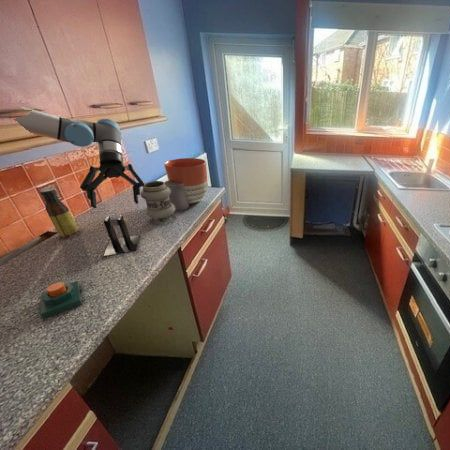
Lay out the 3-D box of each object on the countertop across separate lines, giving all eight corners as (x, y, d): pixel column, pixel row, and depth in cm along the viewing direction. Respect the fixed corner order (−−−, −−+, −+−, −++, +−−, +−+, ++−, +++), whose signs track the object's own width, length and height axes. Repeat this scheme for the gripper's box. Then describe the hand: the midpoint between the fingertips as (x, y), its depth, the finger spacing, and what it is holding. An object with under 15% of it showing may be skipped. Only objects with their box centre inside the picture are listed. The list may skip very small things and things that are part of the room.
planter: (196, 211, 125) (189, 169, 115) (164, 205, 130) (154, 164, 120) (217, 197, 142) (213, 160, 132) (188, 193, 146) (182, 156, 136)
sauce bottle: (83, 231, 105) (63, 186, 95) (76, 238, 100) (55, 191, 90) (64, 232, 103) (42, 187, 93) (56, 240, 98) (32, 193, 88)
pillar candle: (172, 204, 132) (166, 176, 125) (191, 203, 133) (187, 176, 126) (166, 212, 123) (160, 183, 116) (187, 211, 125) (182, 182, 118)
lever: (120, 227, 101) (118, 218, 101) (130, 225, 102) (128, 217, 102) (108, 228, 88) (106, 218, 88) (120, 226, 89) (118, 216, 89)
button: (49, 291, 69) (46, 285, 68) (66, 286, 71) (63, 280, 70) (49, 299, 67) (46, 293, 66) (67, 293, 69) (63, 287, 68)
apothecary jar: (142, 224, 112) (131, 186, 103) (162, 213, 122) (153, 178, 113) (164, 228, 109) (155, 190, 100) (183, 217, 119) (175, 181, 111)
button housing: (44, 298, 72) (38, 287, 70) (80, 286, 76) (75, 276, 74) (44, 320, 65) (37, 309, 63) (82, 305, 70) (77, 294, 68)
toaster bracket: (111, 242, 98) (100, 213, 92) (140, 238, 102) (131, 209, 96) (104, 259, 88) (91, 228, 82) (137, 253, 92) (127, 223, 86)
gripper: (148, 159, 107) (154, 204, 102) (76, 162, 98) (79, 212, 93) (144, 149, 101) (150, 196, 96) (66, 151, 91) (69, 204, 86)
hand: (115, 204), depth 94 cm, fingers open, 13 cm apart
